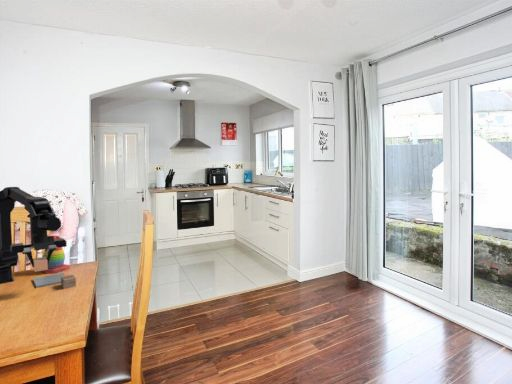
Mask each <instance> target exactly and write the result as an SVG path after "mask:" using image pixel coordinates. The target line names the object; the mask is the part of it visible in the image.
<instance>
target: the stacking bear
mask: <svg viewBox="0 0 512 384" xmlns="http://www.w3.org/2000/svg"><path fill="white" fill-rule="evenodd" d="M47 236H48V237H49V236H50V235H47ZM53 236H54V239H60V238H61V237H60V235H53ZM56 248H57V250H54V251H53V253H52V255H51V257H50V260H49V263H48V270H43V273H45V274H56V273H62V272H65V271H66V270H69V269H70V268H71V267H70V265H69V264H67V263H66V264H64V262H65V257H66V255H65V250H64V248H63V247H59V248H58V247H57V246H56ZM46 255H47V249H44V250H43V254H42V257H46Z"/></svg>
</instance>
